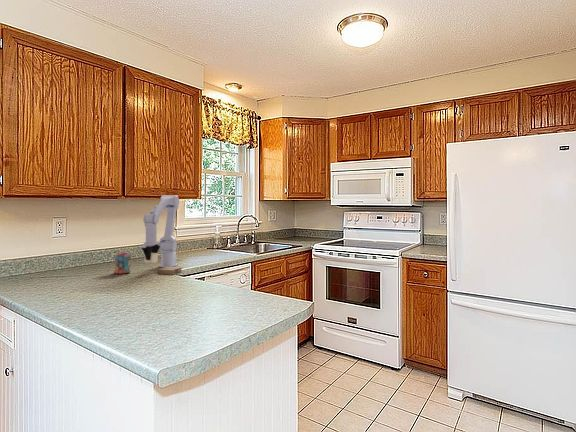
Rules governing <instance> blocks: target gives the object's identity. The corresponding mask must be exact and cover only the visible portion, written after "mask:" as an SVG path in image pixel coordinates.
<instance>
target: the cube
mask: <svg viewBox="0 0 576 432" xmlns="http://www.w3.org/2000/svg"><path fill="white" fill-rule="evenodd" d="M158 255H159V253H151V258H150V260H146V257H145V256H144V263H145V264H146V263H147V264H155V263H157V262H159V259H158V258H159V257H158Z"/></svg>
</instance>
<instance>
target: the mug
mask: <svg viewBox="0 0 576 432" xmlns="http://www.w3.org/2000/svg"><path fill="white" fill-rule="evenodd" d="M112 256H113V258H114V261H115V269H114V270H113V273H114V274H118V275H125V274H129V273H131V266H133V265H134V264H135V263H136V262H137V256H135V255H132V253H130V252H118V253H113V254H112ZM132 257H134V258H135V259H134V261H133V263H131V264H130V260H131V259H132Z"/></svg>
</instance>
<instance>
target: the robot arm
mask: <svg viewBox="0 0 576 432" xmlns="http://www.w3.org/2000/svg"><path fill="white" fill-rule="evenodd" d="M159 199H160V200H159V201H160V202H159V203H158V205H154V206H153V208H152V209H151V210H150V211H149V212H148V213H146V214H145V215H144V216H143V219H142V220H143V223H144V227H145V242H143V243H141V249H142V251H143V253H144V258H145V257H146V260H150V258H151V253H158V252H160V253H161V255H160V256H161V257H160V259H161V260H160V261H161V262H160V263H161V265H158V267H159V268H164V267H178V264H177V253H176V250H177V248H178V245H177V244H178V243H177V242H178V241H177V239H176V238H175V237H174V230H175V222H176V221H175V220H176V214H177V211H178V209H179V207H180V199H179V195H177V194H175V195H174V194H173V195H172V194H171V195H170V194H169V195H167V194H166V195H165V194H163V195H161V197H160V198H159ZM164 210H166V211H167V212H166V213H167V215H166V220H165V221H166V222H165V228H164V234H163V236H162V237H160V238H159V240H157V239H158V237H157V236H158V235H157V224H158V223H159V220H160V217H161V215H163V212H164ZM158 254H159V253H158Z"/></svg>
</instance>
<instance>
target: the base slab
mask: <svg viewBox="0 0 576 432" xmlns="http://www.w3.org/2000/svg"><path fill="white" fill-rule="evenodd" d="M181 272H182V267H181V266H173V267H160V268H158V272H157V274H158V275H171V276H173V275H176V274H178V273H181Z"/></svg>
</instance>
